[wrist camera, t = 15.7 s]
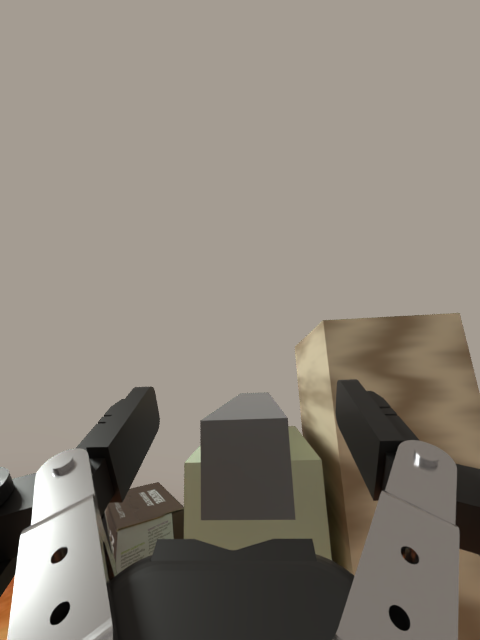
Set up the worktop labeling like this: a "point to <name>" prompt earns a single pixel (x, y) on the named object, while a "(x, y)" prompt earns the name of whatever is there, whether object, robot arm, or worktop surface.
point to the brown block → (410, 405)
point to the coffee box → (143, 523)
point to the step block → (251, 532)
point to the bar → (246, 461)
